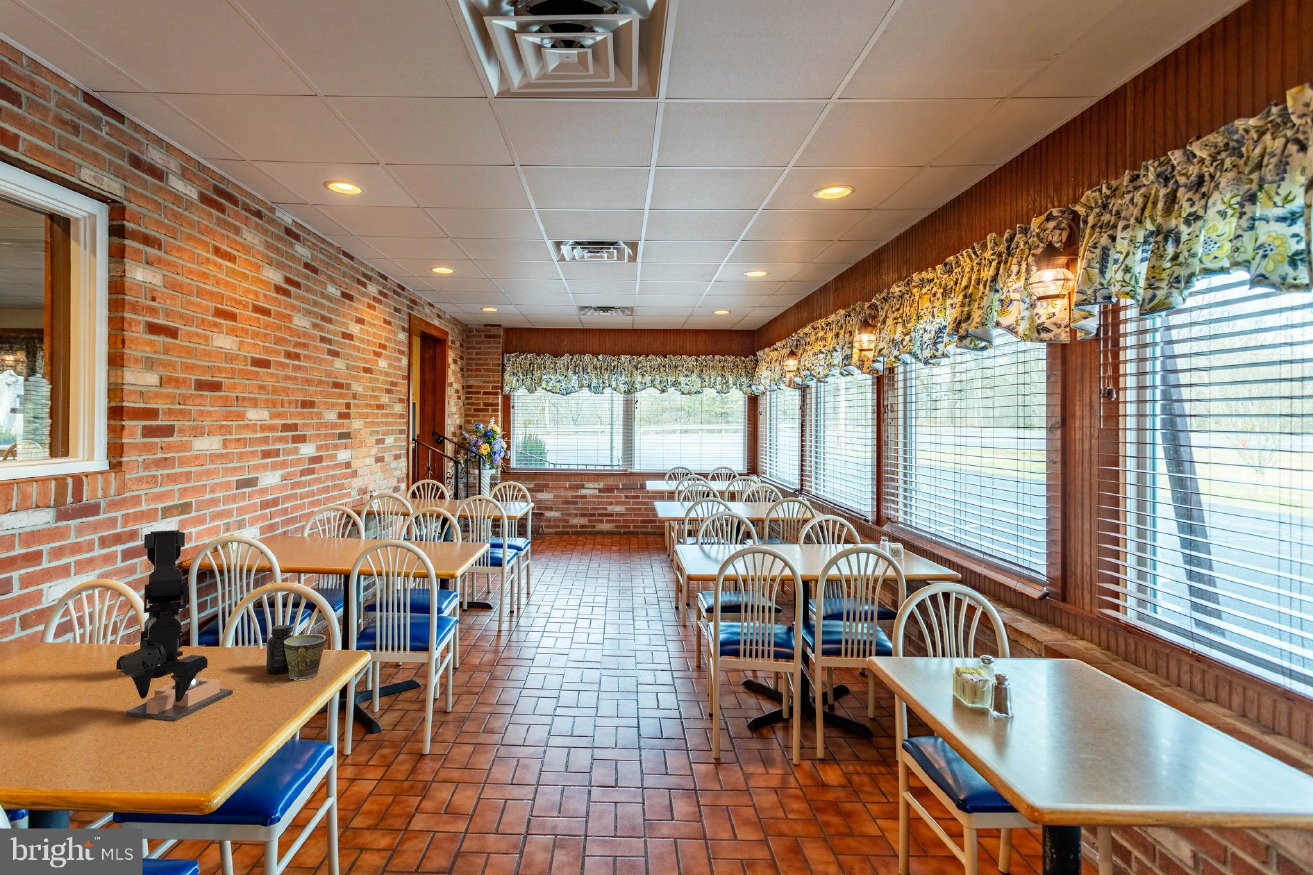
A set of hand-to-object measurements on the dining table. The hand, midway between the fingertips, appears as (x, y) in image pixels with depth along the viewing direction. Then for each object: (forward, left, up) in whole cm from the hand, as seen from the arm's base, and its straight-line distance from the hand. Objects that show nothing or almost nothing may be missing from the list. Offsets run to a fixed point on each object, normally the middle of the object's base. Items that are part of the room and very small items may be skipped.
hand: (161, 699), depth 147 cm
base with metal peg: (0, +5, -3) cm, 6 cm away
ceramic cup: (+16, +27, -4) cm, 31 cm away
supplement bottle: (+6, +31, -4) cm, 31 cm away
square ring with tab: (0, +5, -2) cm, 5 cm away
